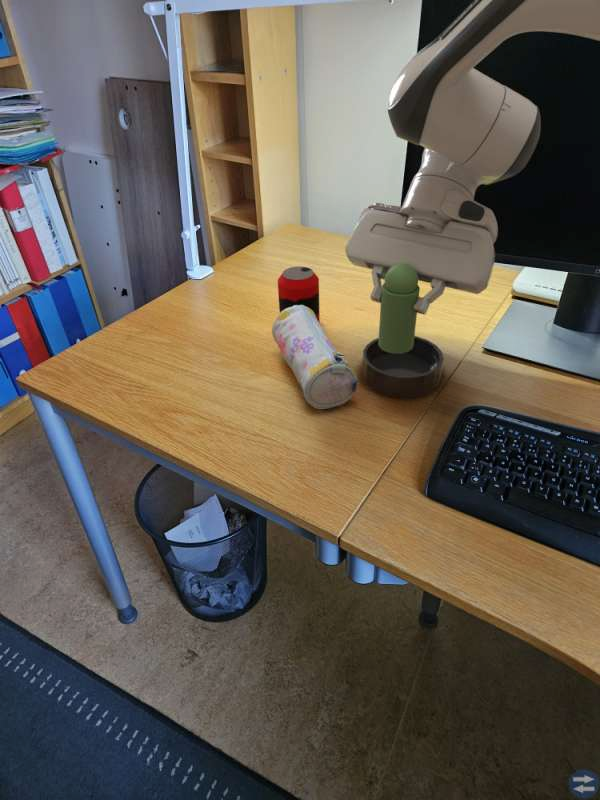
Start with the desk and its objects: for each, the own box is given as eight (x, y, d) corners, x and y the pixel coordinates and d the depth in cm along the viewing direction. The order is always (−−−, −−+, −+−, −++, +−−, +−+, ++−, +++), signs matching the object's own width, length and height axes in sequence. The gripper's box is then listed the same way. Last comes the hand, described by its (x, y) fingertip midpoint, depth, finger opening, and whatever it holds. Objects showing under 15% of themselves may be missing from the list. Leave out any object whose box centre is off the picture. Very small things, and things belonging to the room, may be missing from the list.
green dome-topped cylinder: (416, 338, 81) (425, 259, 74) (408, 356, 78) (417, 275, 70) (383, 332, 83) (389, 254, 75) (374, 350, 79) (378, 270, 72)
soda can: (327, 329, 108) (327, 271, 101) (301, 345, 104) (298, 286, 97) (299, 316, 113) (297, 260, 105) (272, 331, 108) (268, 274, 101)
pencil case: (359, 407, 89) (361, 357, 83) (307, 419, 87) (305, 369, 81) (315, 342, 105) (315, 297, 99) (271, 351, 103) (267, 305, 97)
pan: (447, 361, 98) (450, 341, 96) (431, 404, 89) (434, 384, 86) (374, 348, 102) (375, 329, 100) (352, 388, 93) (352, 368, 90)
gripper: (359, 189, 78) (323, 281, 78) (505, 213, 69) (465, 317, 68) (372, 211, 84) (339, 297, 83) (509, 236, 75) (472, 332, 74)
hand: (397, 306), depth 76 cm, fingers closed on green dome-topped cylinder, 5 cm apart
